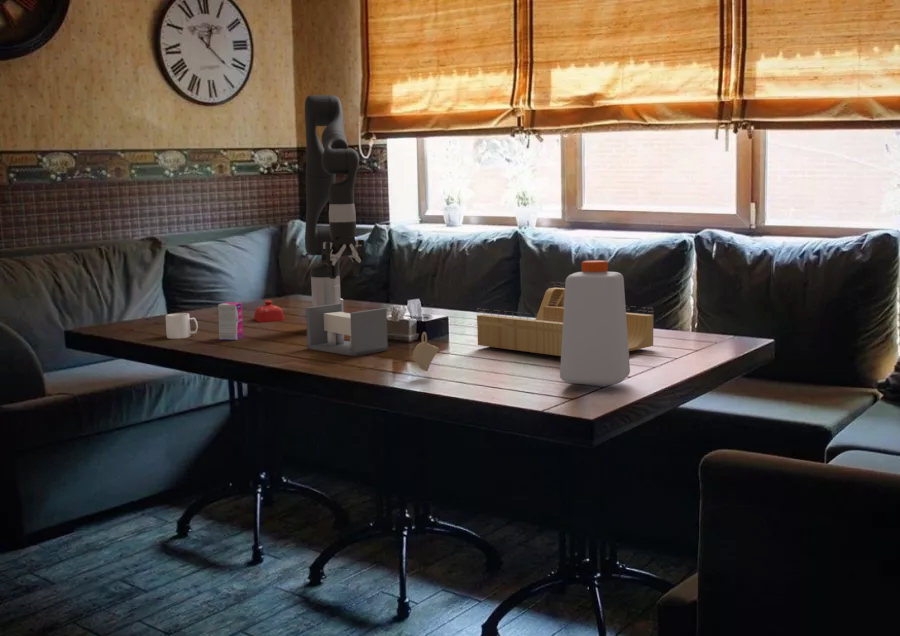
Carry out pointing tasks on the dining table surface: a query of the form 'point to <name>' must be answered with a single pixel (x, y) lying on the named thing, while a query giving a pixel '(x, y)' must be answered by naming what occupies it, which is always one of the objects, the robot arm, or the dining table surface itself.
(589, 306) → the plastic bottle
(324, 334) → the peg stand
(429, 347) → the tan teacup
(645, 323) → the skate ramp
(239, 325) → the supplement box
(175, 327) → the mug
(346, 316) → the cream rectangular block
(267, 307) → the butter dish
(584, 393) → the dining table surface
